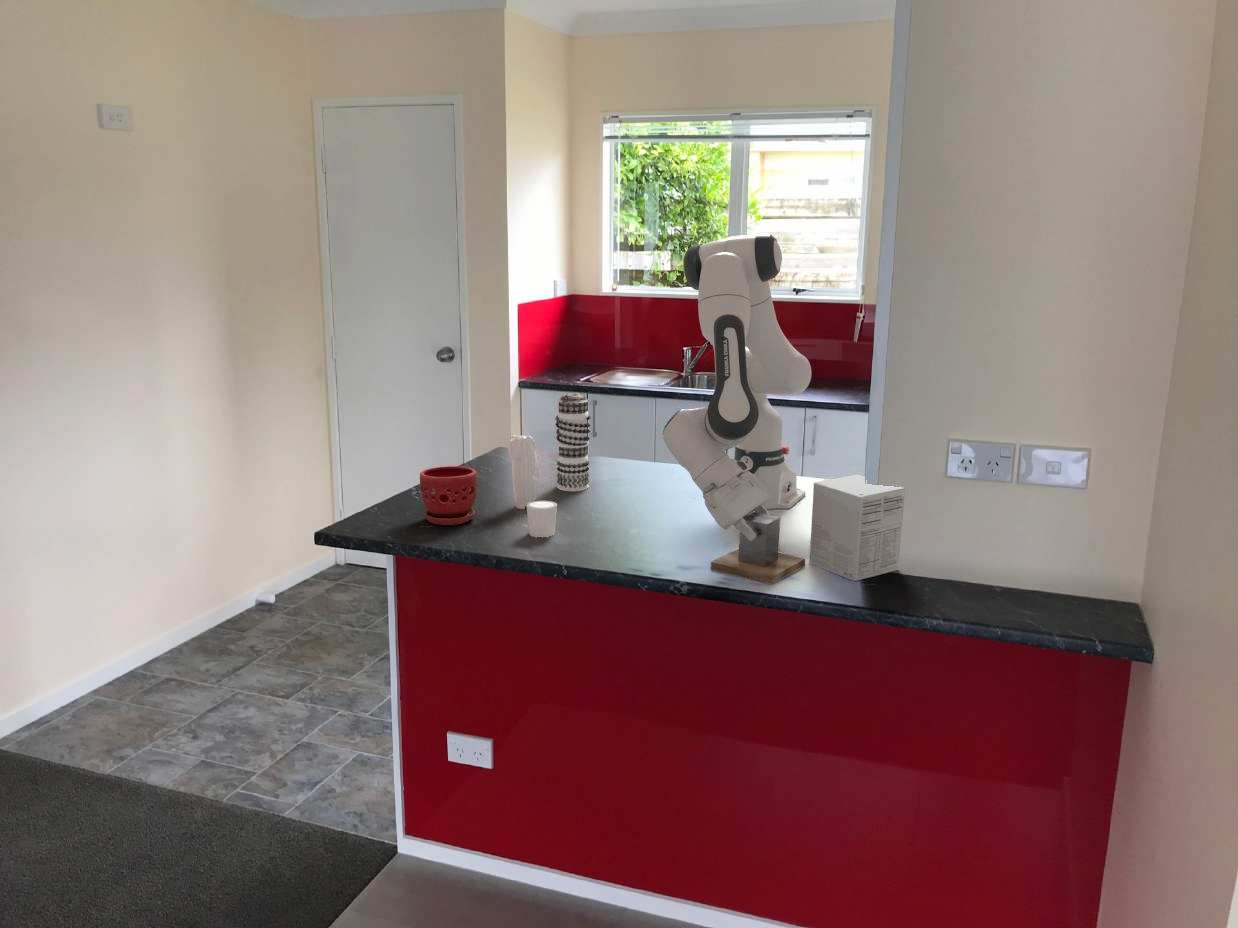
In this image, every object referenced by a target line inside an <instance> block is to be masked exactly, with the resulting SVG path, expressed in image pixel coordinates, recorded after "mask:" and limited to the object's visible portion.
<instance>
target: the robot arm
mask: <svg viewBox="0 0 1238 928" xmlns="http://www.w3.org/2000/svg"><path fill="white" fill-rule="evenodd" d="M782 261H783V253H782V249H781V247H780V245H779V242H778V239H777V238H776V237H774V236H773V235H772V234H771V233H764V232H763V233H759V232H758V233H756V234H748V235H746V234H745V235H743V234H742V235H734V236H733V235H732V236H728V237H727V238H721V239H716V240H712V241H709V242H706V243H701V242H700V243H698V244H694V245H693V246H690V247H688V249H687V250H686V252H685V253H684V256H683V262H682V263H683V264H682V265H683V266H682V270H683V274H684V277H685V280H686V282H687V285H688V286H689V287H690V288H692V289H693V290H695V291H698V294H697V295H698V296H697V302H698V303H697V305H698V306H697V307H698V308H697V310H698V319H699V325H700V330H701V334H702V336H703V337H704V339H706V341H708V342H709V343H711V345H712V347H713V352H714V355H713V356H714V369H715V370H714V374H715V385H714V386H715V388H714V391H713V394H712V396H711V398H710V400H709V403H708V405H706V406H702V407H696V408H681V409H679V410H678V411H677V412H675V413H674V414H673V415H672V416H671V418H670V419H669V420H668V421H667V423H666V424H665V425H664V427H663V429H662V430H663V431H662V440H663V442H664V444H665V446H666V447H667V449H668V451H669V453H671V454H672V456H673V457H674V459H675V460H676V461H677V463H678V464H679V465H680V466H681V467H682V468H684V469H685V470H686V471H687V472H688V474H689V475H690V477H691V479H692V481H693V483H694V484H695V485H696V486H697V487H698V489H699V490H700V491H701V492H702V498H703V499H704V505H705V507H706V509H707V511H708V512H709V513H710V515H711V516H712V518H713V519H714V521H715V522H716V523H717V525H718V526H719V527H720V528H721V529H723V530H725V531H726V530H728V529H730V528H731V527H732V526H733V527H734V529H735V530H736V531H737V532H739V534H740V533H742V534H744V535H745V536H746V537H747V538H748V540H749V541H752V540H753V539H754V538H755V537H757V536H758V533H757V532H756V531H755V529H754V528H750V527H749V526H748V525H747V524H746V521H745V520H744V519H743V517H745V516H747V515H749V514H751V513H753V512H756V513H761V514H766V515H770V514H769V510H771V509H790V508H792V507H793V506H795V504H797V503H798V502H799V501H800V500H802V499H803V498H804V497H805V496H806V491H805V490H802V489H801V488H797V474H796V472H795V471H794V470H793V469H792V468H791V467H790V465H789V466H788V464H787V463H786V462H785V455H786V456H787V455H789V453H790V447H789V446H783V445H782V442H783V441H782V440H783V439H782V436H783V419H782V415H781V414H780V413H779V411H777V410H776V409H775V408H774V407H773V406H772V405H771V403H770V401H769V398H768V397H767V395H773V396H779V397H780V396H781V397H785V396H793V395H794V396H795V395H796V396H797V395H800V394H803V392H804V391H806V389H807V388H808V387H809V385H810V383H811V380H812V367H811V364H810V361H809V359H808V358H807V357H806V356H805V355H803V354H801V352H799V350H797V349H796V348H795V347H794V345H792V343H790V341H789V339H787V337H786V336H785V334H784V332H783V331H782V329H781V327H780V325H779V322H778V320H777V315H776V311H775V307H774V302H773V298H772V292H771V288H770V283H769V281H770V280H773V279H775V278H776V277H777V276H778V275H779V273H780V271H781V268H782V267H781V266H782V264H783V263H782ZM732 448H734V451H733V456H734V458H731V457H730V456H729V455H728V454H727V452H726V451H728V450H730V449H732ZM768 509H769V510H768Z"/></svg>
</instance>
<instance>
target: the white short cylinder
mask: <svg viewBox="0 0 1238 928" xmlns="http://www.w3.org/2000/svg"><path fill="white" fill-rule="evenodd" d="M557 511H558V504H557V502H554V501H551V500H535V501H533V502H530V503H528V504H527V507H526V513H527V521H528V531H529V536H531V537H533V536H534V537H533V538H537V537H542V538H543V537H546V538H550V537H549V536H551V537H553V536H555V534H554V533H555V532H556V521H557V513H558V512H557ZM552 535H553V536H552ZM542 538H541V539H542Z"/></svg>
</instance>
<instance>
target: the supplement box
mask: <svg viewBox="0 0 1238 928" xmlns="http://www.w3.org/2000/svg"><path fill="white" fill-rule="evenodd" d="M865 477H866V476H864V475H860V474H853V475H848V476H847V475H846V476H842V477H837V478H829V479H830V480H825V481H823V480H820V481H816V482H813V494H812V496H813V497H812V510H811V511H812V513H811V527H810V528H811V529H810V542H809V543H810V545H809V546H810V547H809V561H808V563H810V564H812V565H814V566H816V567H818V568H821V569H824V570H826V571H829V572H831V573H833V574H836V575H839V576H840V577H844V578H846V579H847V580H850V581H853V582H856V581H860V580H863V579H868V578H872V577H877V576H880V575H884V574H887V573H891V572H895V571H899V566H900V554H901V553H900V551H901V543H902V529H903V517H904V506H905V493H906V487H902V486H899V487H894V486H883V485H872V484H867V480H866V484H865Z"/></svg>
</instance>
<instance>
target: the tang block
mask: <svg viewBox="0 0 1238 928" xmlns="http://www.w3.org/2000/svg"><path fill="white" fill-rule="evenodd" d="M738 558H739V548H737V549H735V550H733V551H730V552H729V553H726V554H723V555H722V556H719V557H718V558H716V559H714V560H711V561H710V569H711V570H715V571H718V572H722V573H725V574H730V575H733V576H736V577H737V576H738V577H742V578H746V579H749V580H753V581H756V582H760V583H765V584H769V585H772V584H774V583H777V582H778V581H780V580H782V579H783V578H785V577H787V576H789V575H790V574H793V573H794V572H796V571H798V570H800V569H801V568H803V567H805V565H806V558H805V557H804V558H803V557H800V556H795V555H791V554H787V553H783V552H778V559H777V560H776V561H774V562H773V563H771V564H769V565H768V566H766V567H762V566H758V565H753V564H749V563H744V562H740V561H738Z"/></svg>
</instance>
